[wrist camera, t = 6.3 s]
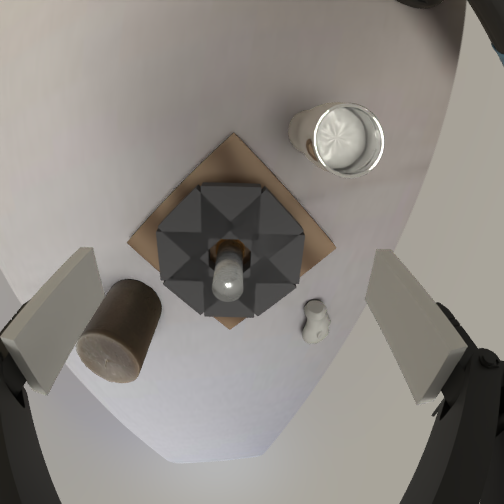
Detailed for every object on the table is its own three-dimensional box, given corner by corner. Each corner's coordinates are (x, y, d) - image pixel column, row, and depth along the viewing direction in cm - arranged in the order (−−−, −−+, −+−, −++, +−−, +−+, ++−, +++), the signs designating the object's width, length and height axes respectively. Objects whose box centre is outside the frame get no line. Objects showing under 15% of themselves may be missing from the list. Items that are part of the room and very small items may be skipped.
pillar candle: (161, 283, 45) (132, 348, 31) (162, 330, 49) (141, 396, 35) (105, 274, 44) (64, 332, 30) (112, 321, 48) (81, 381, 34)
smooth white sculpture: (321, 328, 51) (296, 336, 50) (327, 292, 48) (300, 299, 46) (333, 343, 48) (307, 352, 46) (341, 306, 44) (313, 315, 43)
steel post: (230, 226, 39) (227, 265, 29) (250, 245, 40) (253, 289, 30) (210, 244, 40) (201, 288, 30) (230, 262, 41) (227, 310, 31)
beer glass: (334, 159, 37) (383, 183, 24) (283, 156, 37) (308, 178, 24) (336, 109, 34) (389, 106, 21) (284, 104, 34) (311, 96, 21)
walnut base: (234, 132, 35) (233, 133, 34) (332, 242, 43) (336, 248, 41) (131, 237, 41) (126, 242, 39) (230, 322, 48) (229, 329, 46)
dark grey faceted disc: (232, 151, 33) (232, 153, 31) (326, 254, 39) (330, 261, 37) (135, 249, 37) (131, 256, 36) (229, 328, 44) (229, 337, 42)
